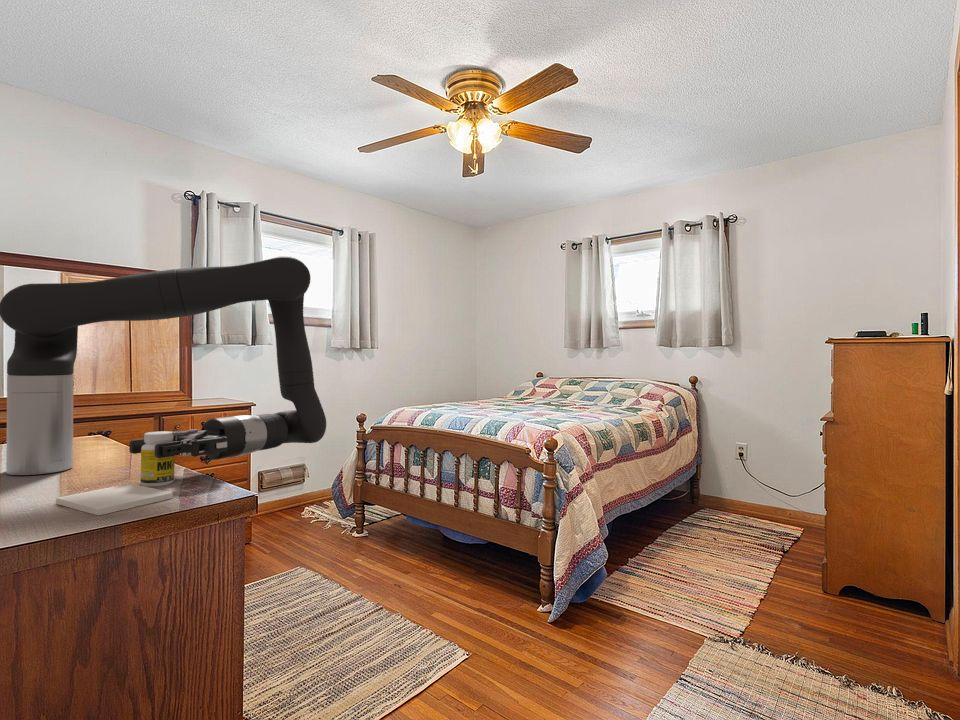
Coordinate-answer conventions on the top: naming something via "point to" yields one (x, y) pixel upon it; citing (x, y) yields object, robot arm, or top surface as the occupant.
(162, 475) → the supplement bottle
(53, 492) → the top surface
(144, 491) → the mat
